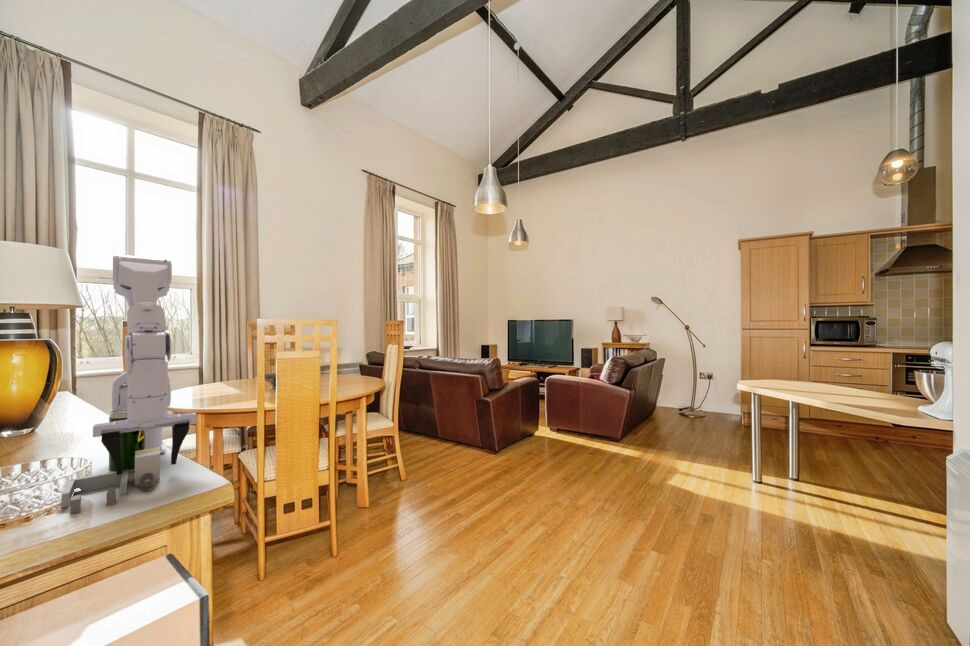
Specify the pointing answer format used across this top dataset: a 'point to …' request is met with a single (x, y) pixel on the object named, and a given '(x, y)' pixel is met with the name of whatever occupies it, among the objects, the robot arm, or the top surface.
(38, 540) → the top surface
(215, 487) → the top surface
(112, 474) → the grey holder frame
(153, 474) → the connector
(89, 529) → the top surface
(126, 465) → the beer can
